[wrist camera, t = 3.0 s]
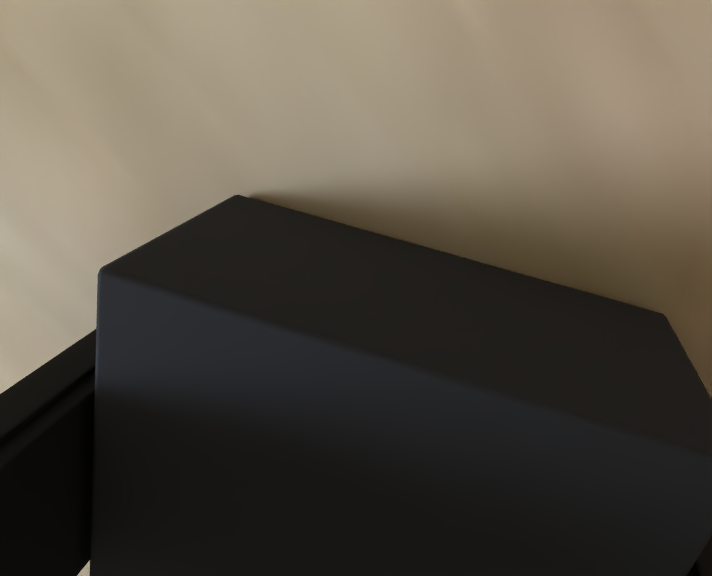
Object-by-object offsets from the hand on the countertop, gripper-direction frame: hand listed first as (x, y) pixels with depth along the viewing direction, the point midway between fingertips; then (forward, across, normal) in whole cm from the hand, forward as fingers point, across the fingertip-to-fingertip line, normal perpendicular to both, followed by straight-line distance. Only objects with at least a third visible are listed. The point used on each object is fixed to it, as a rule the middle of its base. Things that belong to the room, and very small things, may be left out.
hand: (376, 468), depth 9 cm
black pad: (+1, 0, 0) cm, 1 cm away
